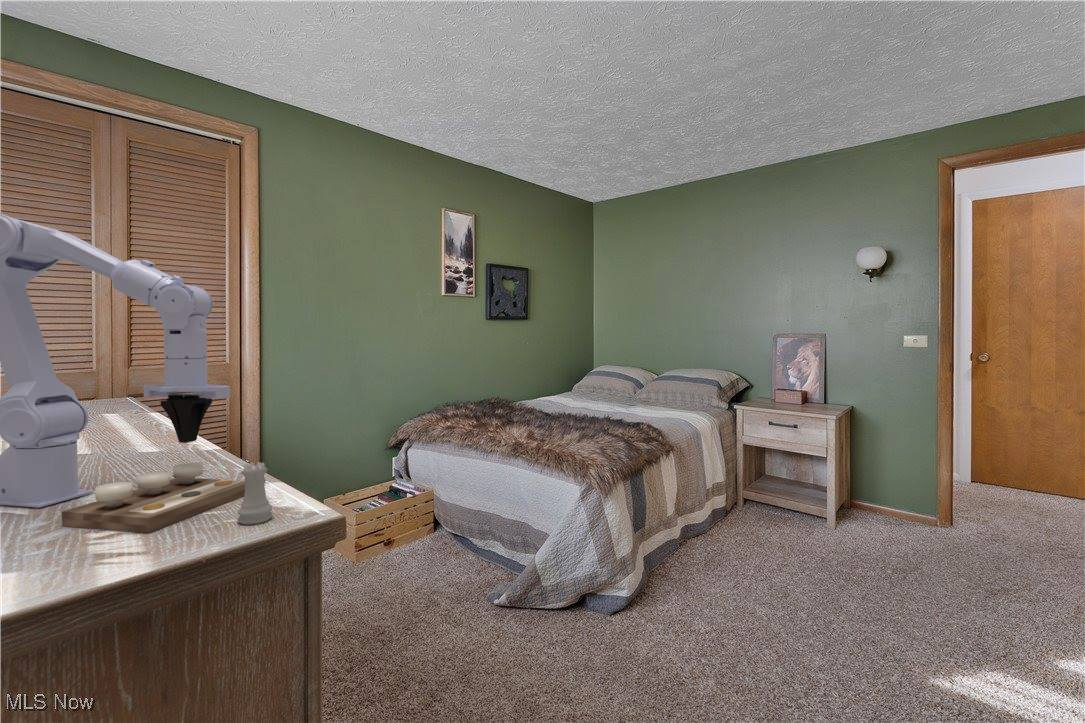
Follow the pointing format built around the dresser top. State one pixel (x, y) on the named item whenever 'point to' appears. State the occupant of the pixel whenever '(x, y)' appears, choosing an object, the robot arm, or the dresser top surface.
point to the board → (155, 506)
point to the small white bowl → (187, 471)
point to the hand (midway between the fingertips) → (187, 441)
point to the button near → (113, 493)
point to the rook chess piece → (254, 496)
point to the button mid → (153, 481)
